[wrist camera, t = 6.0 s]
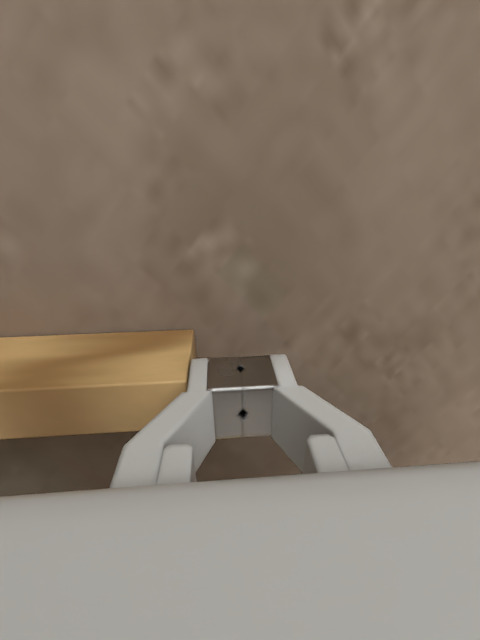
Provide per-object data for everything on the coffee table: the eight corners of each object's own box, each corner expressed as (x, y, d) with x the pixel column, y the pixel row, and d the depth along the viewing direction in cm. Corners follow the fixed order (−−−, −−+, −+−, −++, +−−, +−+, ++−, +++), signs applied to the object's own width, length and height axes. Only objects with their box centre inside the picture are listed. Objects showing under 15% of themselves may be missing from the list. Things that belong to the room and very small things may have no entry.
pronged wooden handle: (191, 300, 10) (182, 346, 8) (199, 391, 12) (195, 453, 9) (-184, 314, 10) (-338, 370, 7) (-115, 408, 11) (-216, 481, 9)
